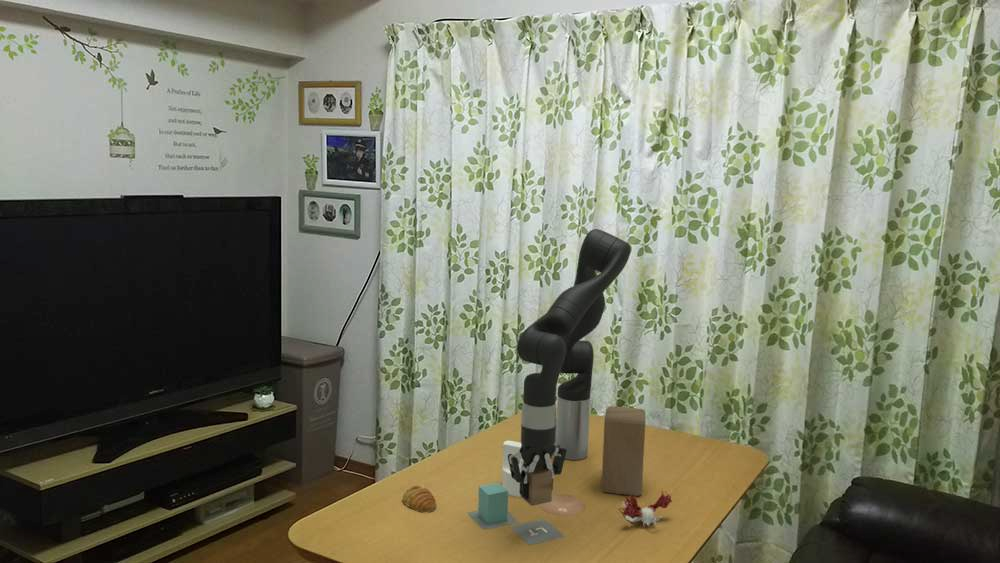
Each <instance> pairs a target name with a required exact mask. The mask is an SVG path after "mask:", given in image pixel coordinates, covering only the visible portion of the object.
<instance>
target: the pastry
mask: <svg viewBox="0 0 1000 563" xmlns="http://www.w3.org/2000/svg"><path fill="white" fill-rule="evenodd" d="M402 500H404V501H403V504H405V503H406V504H407V505H409V506H410V507H412V508H414V509H416V510H419V511H422V512H421V513H423V512H429V513H432V512H434V511H435V510H436V508H437V503H436V499H435V497H434V495H433V494H432V492H431V491H430V490H429V489H428V488H426V487H422V486H421V485H412V486H410V487H409V488H408V489H406V490H405V492H404V494H403V496H402ZM410 507H409V508H410ZM412 508H411V509H412ZM414 509H413V510H414ZM434 509H435V510H434ZM416 510H415V511H416ZM433 510H434V511H433ZM419 511H418V512H419ZM431 511H432V512H431Z"/></svg>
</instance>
